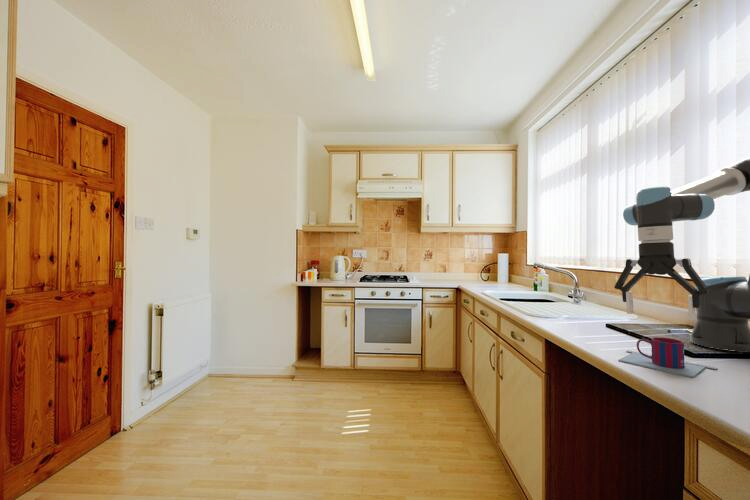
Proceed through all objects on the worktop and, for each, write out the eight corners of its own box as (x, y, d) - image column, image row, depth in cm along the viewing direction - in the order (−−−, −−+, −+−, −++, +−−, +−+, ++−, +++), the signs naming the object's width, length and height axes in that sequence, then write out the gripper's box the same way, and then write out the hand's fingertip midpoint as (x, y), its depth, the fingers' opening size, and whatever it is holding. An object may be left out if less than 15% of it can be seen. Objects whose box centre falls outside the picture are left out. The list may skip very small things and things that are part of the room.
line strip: (628, 351, 103) (628, 350, 103) (717, 368, 86) (717, 367, 86) (626, 352, 102) (626, 351, 102) (716, 370, 85) (716, 369, 85)
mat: (632, 354, 100) (632, 352, 100) (704, 368, 87) (704, 367, 87) (618, 361, 94) (618, 359, 94) (693, 377, 81) (693, 376, 81)
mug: (683, 370, 84) (682, 345, 85) (635, 361, 92) (634, 338, 92) (686, 364, 89) (685, 340, 89) (640, 356, 96) (639, 334, 96)
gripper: (599, 244, 99) (603, 312, 99) (715, 239, 78) (719, 325, 78) (610, 244, 103) (613, 309, 103) (722, 239, 83) (726, 321, 82)
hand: (659, 316), depth 91 cm, fingers open, 13 cm apart
